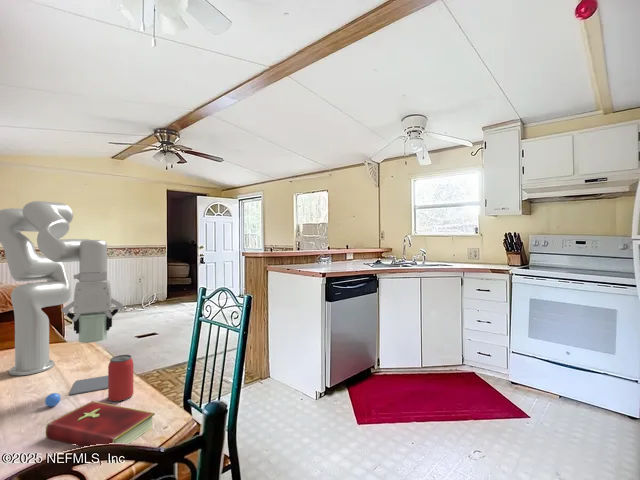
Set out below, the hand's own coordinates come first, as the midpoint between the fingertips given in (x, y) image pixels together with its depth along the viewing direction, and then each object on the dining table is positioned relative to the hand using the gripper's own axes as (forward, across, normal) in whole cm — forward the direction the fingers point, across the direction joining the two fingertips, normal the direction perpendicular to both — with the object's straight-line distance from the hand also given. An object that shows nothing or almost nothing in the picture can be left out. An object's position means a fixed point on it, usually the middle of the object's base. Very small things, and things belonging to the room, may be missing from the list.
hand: (93, 330), depth 109 cm
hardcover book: (+18, +5, -33) cm, 38 cm away
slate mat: (+18, 0, 0) cm, 18 cm away
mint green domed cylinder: (+3, 0, 0) cm, 3 cm away
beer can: (+18, +8, -14) cm, 24 cm away
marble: (+16, -8, -11) cm, 21 cm away
